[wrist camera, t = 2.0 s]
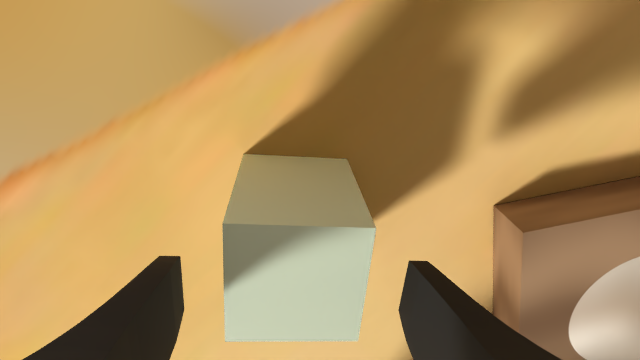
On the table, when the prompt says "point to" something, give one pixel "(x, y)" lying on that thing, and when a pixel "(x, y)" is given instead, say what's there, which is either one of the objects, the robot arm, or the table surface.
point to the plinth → (572, 270)
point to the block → (295, 251)
